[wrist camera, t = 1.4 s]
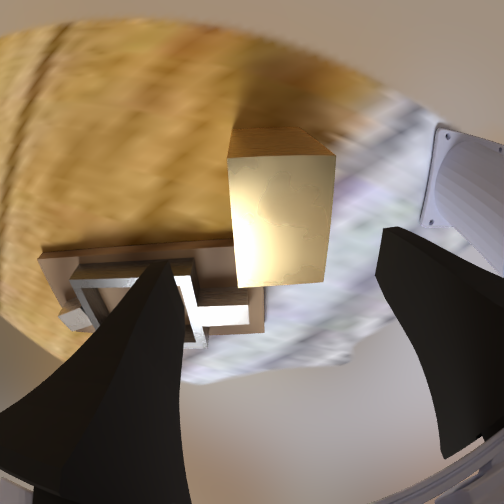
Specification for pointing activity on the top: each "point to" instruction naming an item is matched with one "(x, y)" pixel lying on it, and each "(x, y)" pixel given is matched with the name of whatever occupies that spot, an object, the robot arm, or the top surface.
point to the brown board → (186, 276)
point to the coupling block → (280, 205)
